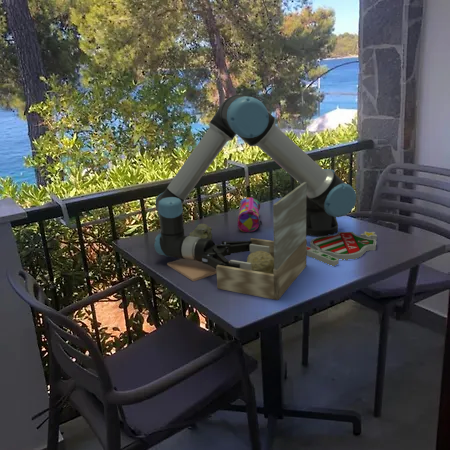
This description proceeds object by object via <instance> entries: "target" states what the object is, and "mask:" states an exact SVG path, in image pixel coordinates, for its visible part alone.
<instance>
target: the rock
mask: <svg viewBox="0 0 450 450" xmlns="http://www.w3.org/2000/svg"><path fill="white" fill-rule="evenodd" d="M212 231H213V230H212V227H211V226H208V225H207V224H206V223H199V224H198V225H196V226H195V228H194V230H192V231H191V232H189V235H188V236H191V237H199V238H205V239H211V240H213V239H212V238H213V233H212Z"/></svg>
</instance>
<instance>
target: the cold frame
mask: <svg viewBox="0 0 450 450" xmlns="http://www.w3.org/2000/svg"><path fill="white" fill-rule="evenodd" d="M306 187H307V182H304V183H302V184H300V185H298V186H297V187H295V188H294V189H293V190H291V191H290V192H288V193H287V194H286V195H285V196H283V197H282V198H280V199H279V200H278V201H276V202H275V203H273V205H272V207H273V209H272V210H273V211H272V213H273V214H272V215H273V216H272V219H273V240H270V239H269V240H268V239H261V238H255V237H251V238H250V239H249V241H252V244H255V245H262V246H269V247H270V254H271V256H272V257H273V258H274V269H273V272H274V274H270V273H264V272H258V271H252V270H246V269H240V268H234V267H228V266H222V265H217V266H216V271H217V274H216V286H217V289H218V290H224V291H228V292H233V293H238V294H244V295H250V296H255V297H259V298H264V299H269V300H275V301H279V300H280V299H281V297H282V296H283V295H284V294H285V293H286V292H287V290H288V289H289V288H290V287H291V285H292V284H293V283H294V282H295V281H296V279H297V278H298V277H299V276H300V274H301V273H302V272H303V270H305V269H306V267H307V257H308V256H307V246H308V245H307V244H308V243H307V235H306Z"/></svg>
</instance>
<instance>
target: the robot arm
mask: <svg viewBox="0 0 450 450" xmlns="http://www.w3.org/2000/svg"><path fill="white" fill-rule="evenodd" d="M208 124H209V125H208V126H209V128H208V129H207V130H206V132H205V134H203V136H202V137H201V139H200V140H199V141H198V143H197V145H196V146H195V148H193V151H192V152H191V153H190V155H189V156H188V157H187V159H186V160H185V162H184V163H183V164H182V166H181V167H180V169H179V170H178V171H177V173H176V174H175V176H173V177H174V178H172V180H171V181H170V182H169V184H168V185H167V187H166V188H165V190H164V191H163V192H161V193H160V194H158V195H157V197H156V199H155V203H154V204H155V209H156V212H157V215H158V218H159V225H160V233H158V234H157V235H156V236H155V239H154V250H155V252H156V253H157V254H158V255H160V256H161V255H162V256H165V257H168V258H177V259H182V258H183V259H188V260H191V261H199V262H202V263H203V264H207V265H209V266H211V267H213V268H215V269H216V266H217V265H222V266H228V267H234V268H240V269H246V270H252V269H251V263H248V262H247V261H242V260H241V261H240V260H235V259H230V260H229V259H227V258H226V257H228V256H231V255H232V254H239V253H245V252H249V254H250V253H255V252H256V251H265V252H267V253H269V254H270V247H269V246H262V245H255V244H252V241H250V240H233V241H231V240H229V241H228V240H221V243H220V244H215V242H214V240H213V239H205V238H199V237H191V236H189V235H185V228H184V227H185V226H184V214H183V213H184V208H183V203H184V202H185V200H186V199H187V197H189V195H190V193H192V191H193V189H195V186H197V184H198V183H199V181H200V180H201V179H202V177H203V175H204V174H205V173H206V171H207V170H208V169H209V167H210V166H211V165H212V164H213V162H214V160H215V159H216V158H217V157H218V155H219V153H220V152H221V151H222V149H223V148H224V147H225V146H226V144H227V143H228V142H230V141H233V139H234V138H235V137H236V136H238V137H239V138H240V139H241V140H243V142H244V143H246V144H247V145H248V146H249V147H258V148H259V149H260V150H262V151H263V153H265V154H266V156H268V157H270V159H271V160H272V161H274V162H275V164H277V165H278V166H279V167H281V168H282V170H284V171H285V172H286V173H287V174H289V176H291V178H293V179H294V180H295V181H296V182H298V183H299V184H300V185H301V184H302V183H304V182H307V187H306V236H312V237H321V236H329V235H335V234H337V233H338V232H339V223H338V219H337V218H342V217H345V216H346V215H348V214H349V213H351V212H352V210H353V209H354V207H355V205H356V203H357V193H356V190H355V188H353V186H352V185H351V184H348V183H346V182H344V181H343V180H342V179H341V178H340V177H339V176H338V175H337V174H336V172H335V170H334V169H330V168H322V167H321V166H320V165H319V164H318V163H317V162H316V161H315V160H313V159H312V158H311V156H309V155H308V153H306V152H305V151H304V150H303V149H302V148H301V147H299V145H297V144H296V143H295V142H294V141H293V140H292V139H291V138H290V137H289V136H288V135H286V134H285V132H283V131H282V130H281V129H280V128H279V127H278V126H277V125H276V118H275V117H274V116H273V114H271V113H270V112H269V111H268V109H267V107H266V105H265V104H264V103H263V102H262V101H261V100H259V99H258V98H256V97H252V96H249V95H248V96H245V95H241V94H236V95H232V96H229V97H227V98H226V99H225V100H224V101H223V102H222V103H221V105H220V106H219V108H218V109H217V111H216V112H215V114H214V116H213V117H212V118H211V120H210V121H209V123H208ZM229 261H230V263H229Z"/></svg>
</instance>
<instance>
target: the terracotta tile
mask: <svg viewBox="0 0 450 450" xmlns="http://www.w3.org/2000/svg"><path fill="white" fill-rule="evenodd" d="M228 261H229V263H230V260H228ZM166 265H167V266H168V267H170V268H171V269H173V270H174V271H176V272H177V273H179V274H181V275H182V276H184V277H186V278H187V279H189V280H190V281H192V282H196V281H199V280H202V279H204V278H205V279H206V278H207V277H211V276H213V275H217V271H216V269H215V268H213V267H211V266H209V265H207V264H203V263H202V262H199V261H191V260H188V259H183V258H178V259H175V260H173V261H169V262H167V263H166Z"/></svg>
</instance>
